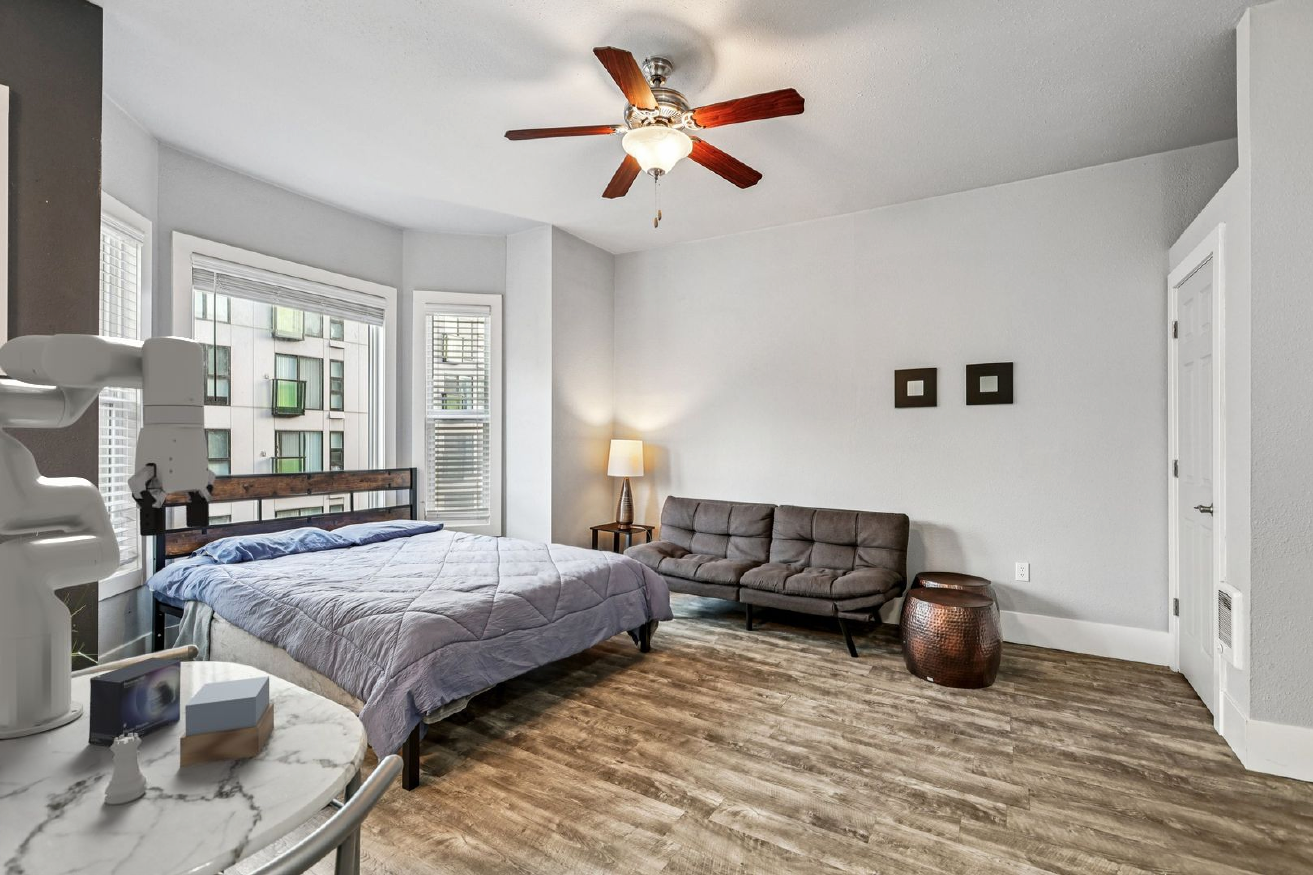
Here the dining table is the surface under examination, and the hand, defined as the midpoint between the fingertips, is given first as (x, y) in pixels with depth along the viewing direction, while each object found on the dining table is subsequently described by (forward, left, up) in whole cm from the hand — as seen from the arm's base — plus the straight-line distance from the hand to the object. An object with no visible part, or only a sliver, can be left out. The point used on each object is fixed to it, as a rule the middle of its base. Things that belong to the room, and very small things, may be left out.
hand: (176, 530), depth 97 cm
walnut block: (+7, 0, -34) cm, 35 cm away
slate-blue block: (+7, 0, -30) cm, 31 cm away
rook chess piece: (-2, -12, -34) cm, 36 cm away
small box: (-9, +11, -34) cm, 37 cm away
